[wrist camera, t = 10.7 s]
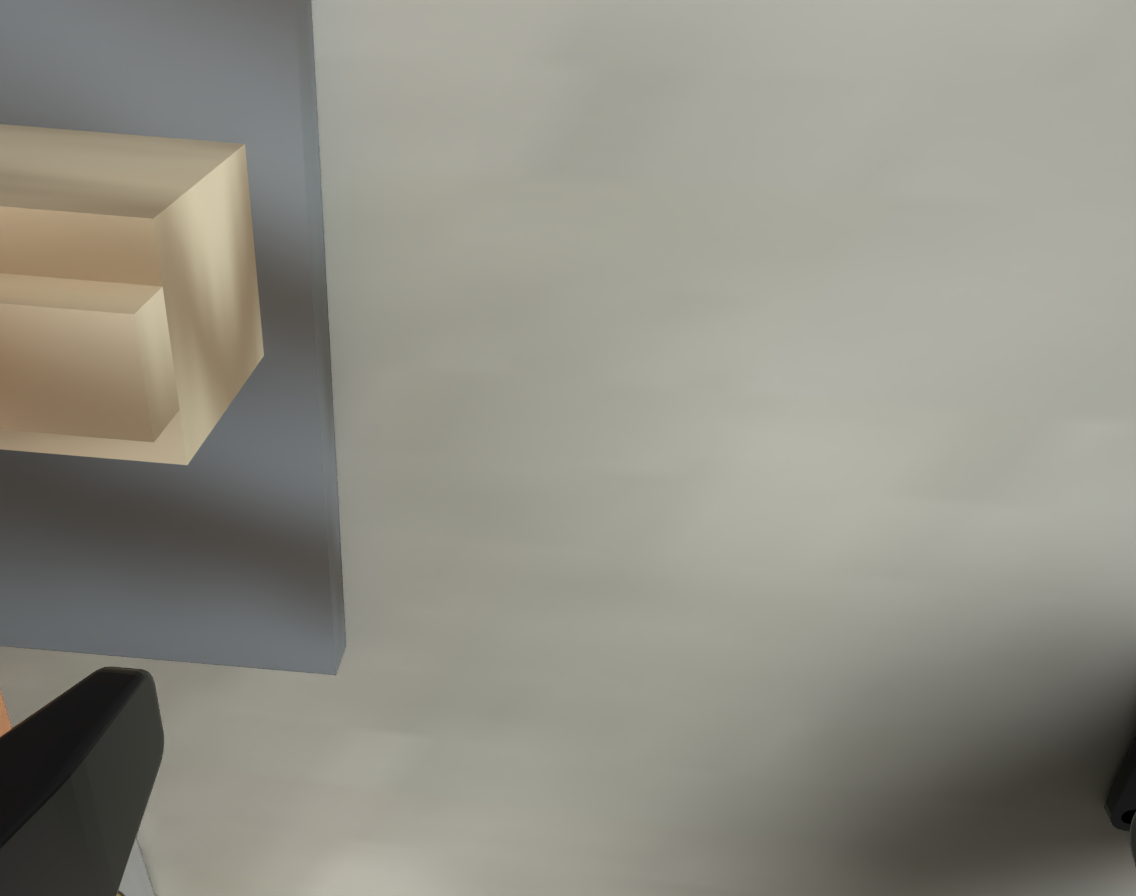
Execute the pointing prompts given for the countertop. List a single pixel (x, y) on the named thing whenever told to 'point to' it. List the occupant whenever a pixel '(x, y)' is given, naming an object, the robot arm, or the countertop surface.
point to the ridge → (165, 336)
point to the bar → (4, 718)
